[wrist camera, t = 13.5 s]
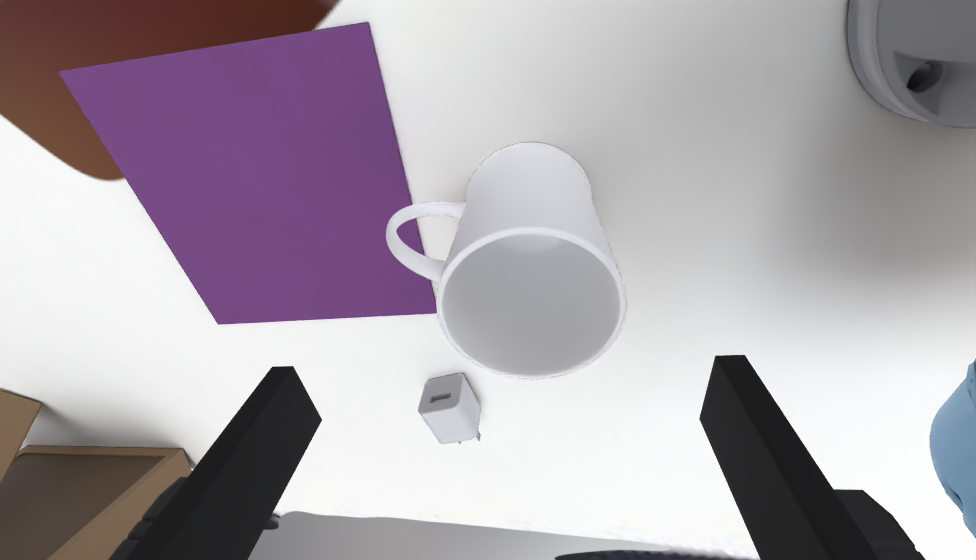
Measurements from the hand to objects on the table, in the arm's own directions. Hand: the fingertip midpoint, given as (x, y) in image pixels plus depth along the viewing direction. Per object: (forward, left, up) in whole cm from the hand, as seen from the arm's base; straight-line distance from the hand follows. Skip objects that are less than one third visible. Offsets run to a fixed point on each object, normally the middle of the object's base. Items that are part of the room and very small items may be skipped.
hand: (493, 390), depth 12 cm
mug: (0, 0, -17) cm, 17 cm away
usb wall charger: (+7, +20, -17) cm, 27 cm away
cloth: (+17, -1, -17) cm, 24 cm away
